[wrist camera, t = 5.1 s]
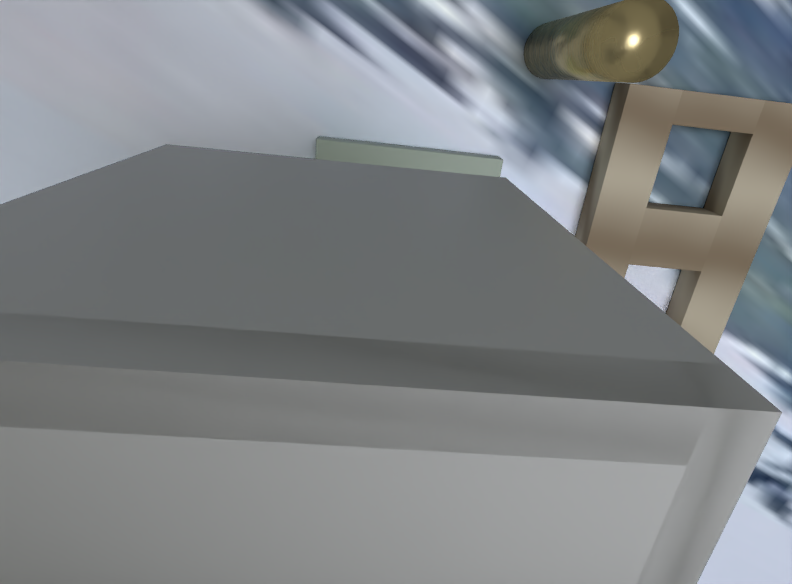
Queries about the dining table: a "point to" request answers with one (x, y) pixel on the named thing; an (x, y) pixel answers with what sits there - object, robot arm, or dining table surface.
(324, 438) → the block
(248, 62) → the dining table surface
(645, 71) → the brass pin
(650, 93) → the board
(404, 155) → the pad
